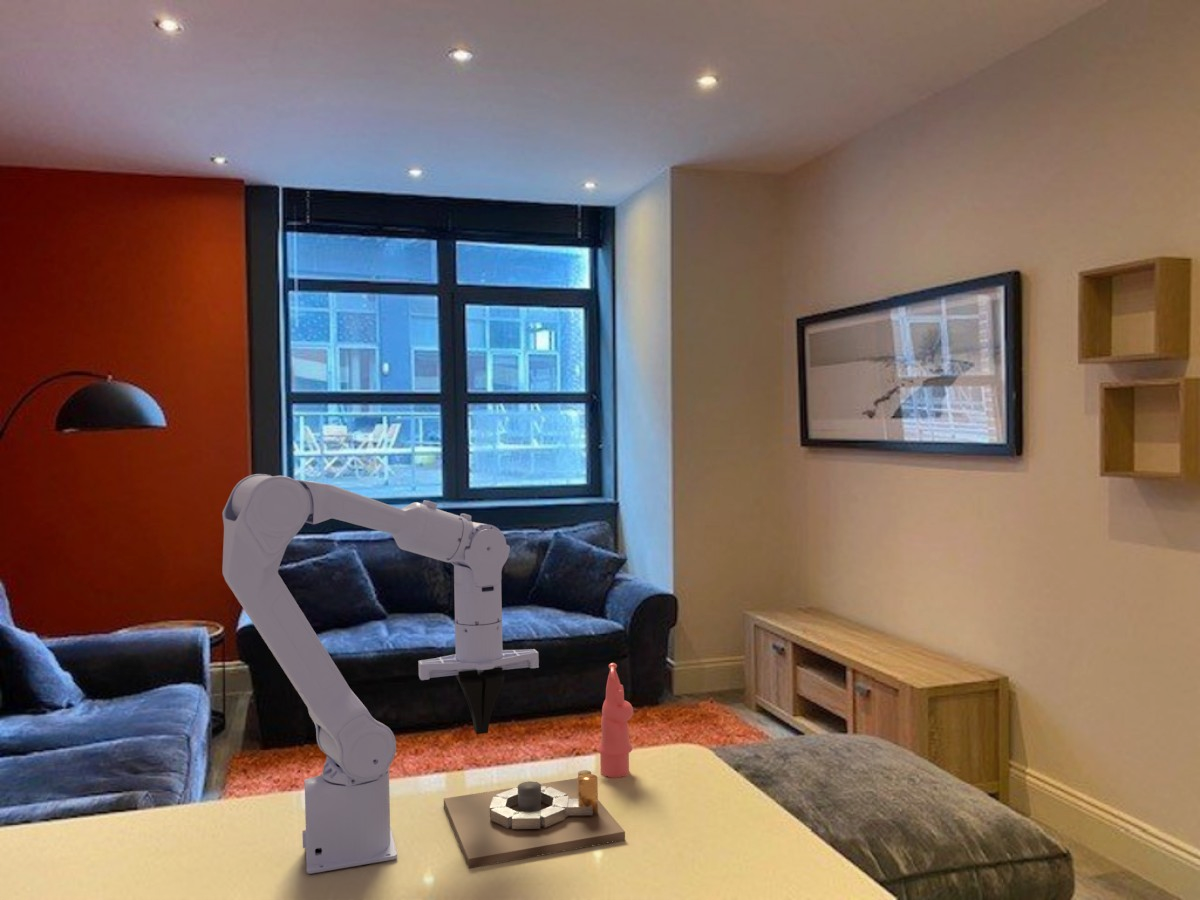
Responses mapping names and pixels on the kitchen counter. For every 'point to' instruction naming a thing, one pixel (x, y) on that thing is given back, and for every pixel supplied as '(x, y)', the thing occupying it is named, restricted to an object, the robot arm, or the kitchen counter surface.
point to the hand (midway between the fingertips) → (480, 731)
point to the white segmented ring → (549, 796)
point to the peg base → (502, 844)
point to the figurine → (615, 729)
